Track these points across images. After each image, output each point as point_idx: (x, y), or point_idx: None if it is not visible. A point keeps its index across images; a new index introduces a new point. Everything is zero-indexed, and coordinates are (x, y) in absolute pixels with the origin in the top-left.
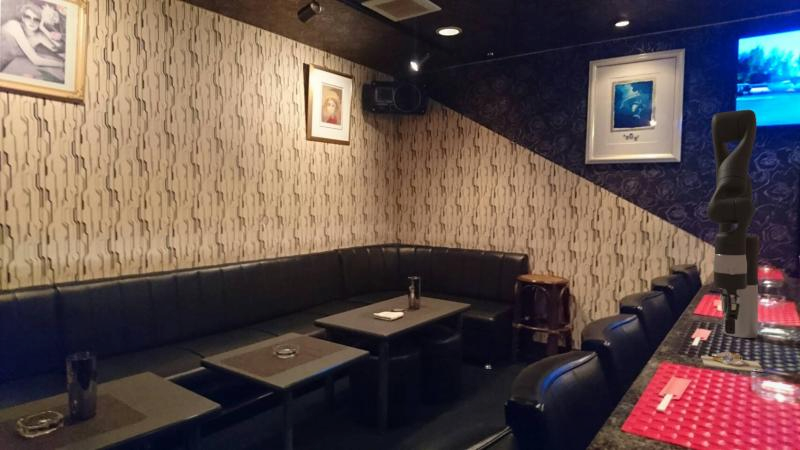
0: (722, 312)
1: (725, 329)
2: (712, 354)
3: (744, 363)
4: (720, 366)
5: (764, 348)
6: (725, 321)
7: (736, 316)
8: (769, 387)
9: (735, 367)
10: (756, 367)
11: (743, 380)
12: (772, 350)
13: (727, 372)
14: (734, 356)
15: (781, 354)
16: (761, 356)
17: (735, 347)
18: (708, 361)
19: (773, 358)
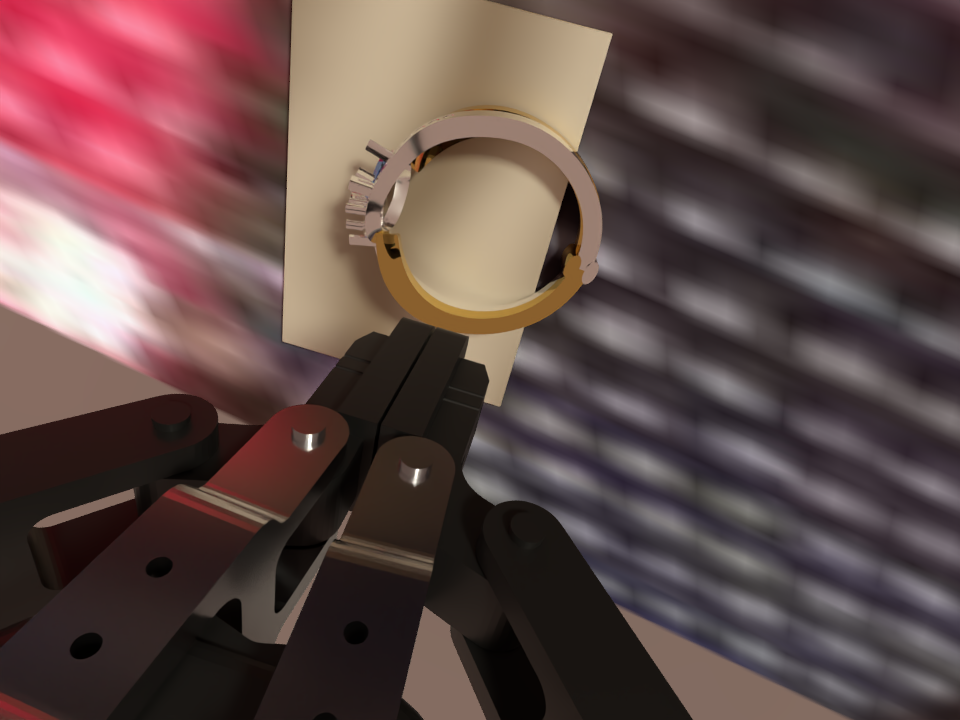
0: (526, 531)
1: (391, 334)
2: (494, 114)
3: None
4: (296, 88)
5: (864, 606)
6: (346, 398)
7: (87, 520)
8: (18, 228)
9: (308, 199)
10: (357, 338)
11: (70, 133)
12: (808, 616)
13: (207, 96)
14: (535, 303)
15: (713, 608)
16: (664, 498)
17: (928, 468)
18: (422, 36)
19: (621, 531)
